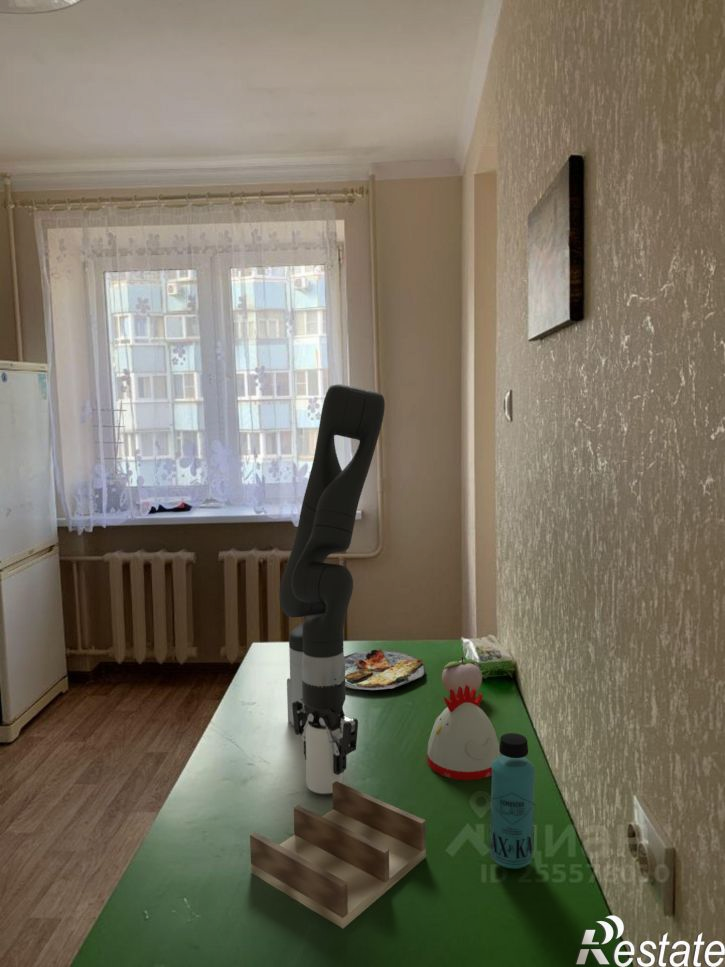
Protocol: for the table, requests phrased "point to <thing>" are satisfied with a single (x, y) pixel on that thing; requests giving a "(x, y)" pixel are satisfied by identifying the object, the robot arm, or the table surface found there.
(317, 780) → the can
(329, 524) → the robot arm
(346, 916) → the rack
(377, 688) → the food plate
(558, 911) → the table surface
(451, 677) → the decorative fruit
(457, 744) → the kitchen timer
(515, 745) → the beverage bottle
